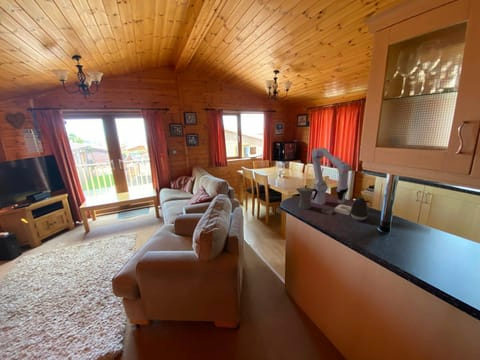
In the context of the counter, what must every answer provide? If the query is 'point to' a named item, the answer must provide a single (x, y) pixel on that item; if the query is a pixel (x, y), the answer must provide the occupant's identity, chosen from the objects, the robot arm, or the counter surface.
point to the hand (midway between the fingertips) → (341, 199)
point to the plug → (342, 199)
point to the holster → (327, 211)
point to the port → (343, 209)
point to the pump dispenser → (359, 209)
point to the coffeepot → (305, 197)
